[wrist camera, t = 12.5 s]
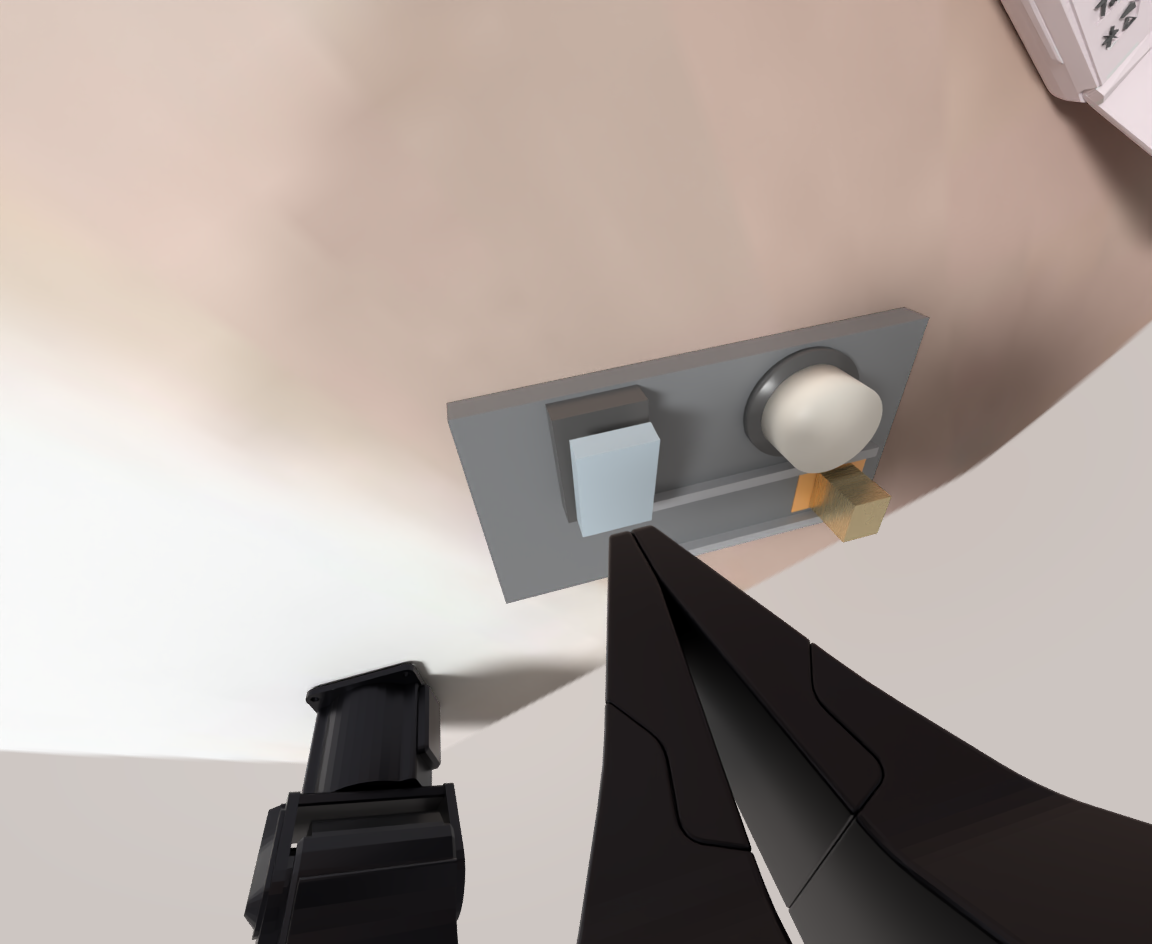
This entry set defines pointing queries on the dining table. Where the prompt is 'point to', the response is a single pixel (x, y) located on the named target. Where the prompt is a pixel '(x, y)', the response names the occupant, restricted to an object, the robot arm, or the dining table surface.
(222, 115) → the dining table surface
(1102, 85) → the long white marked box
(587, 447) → the rocker switch
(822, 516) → the wood grain cube
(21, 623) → the dining table surface
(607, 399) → the control panel
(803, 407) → the push button
